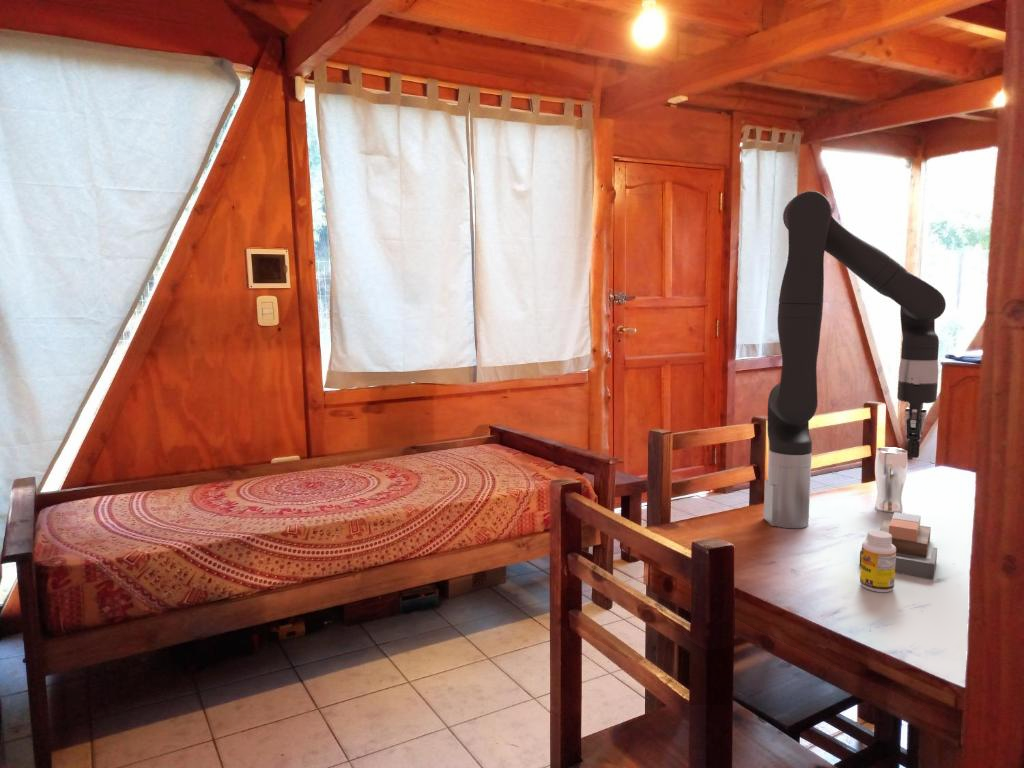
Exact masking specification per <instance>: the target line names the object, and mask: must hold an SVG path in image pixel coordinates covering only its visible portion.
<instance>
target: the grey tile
mask: <svg viewBox="0 0 1024 768" xmlns="http://www.w3.org/2000/svg"><path fill="white" fill-rule="evenodd" d="M892 514H893V515H892V517H891V520H892V519H896V520H903V521H909V522H916V523H919V528H920V526H921V515H918V514H910V513H903V512H900V513H898V512H894V513H892ZM919 528H918V532H919Z"/></svg>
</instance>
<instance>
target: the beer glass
mask: <svg viewBox="0 0 1024 768" xmlns="http://www.w3.org/2000/svg"><path fill="white" fill-rule="evenodd" d="M874 475H875V476H874V477H875V483H876V491H877V495H876V501H875V504H874V509H875V510H876V511H879V512H882V513H889V514H894V512H898V513H903V504H902V503H903V502H902V495H903V490H904V487H905V483H906V480H907V476H908V456H907V450H906V449H903V448H898V447H888V446H885V447H883V446H882V447H878V448H876V453H875V460H874Z"/></svg>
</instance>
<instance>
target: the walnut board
mask: <svg viewBox="0 0 1024 768" xmlns="http://www.w3.org/2000/svg"><path fill="white" fill-rule="evenodd" d="M882 521H883V522H882V523H881V526H880V529H879V531H884V532H887V533H889V525H890V522H891V520H885V519H883V520H882ZM930 542H931V526H927V525H920V528H919V532H918V537H917V541H909V540H903V539H897V538H892V544H893V545H894V546H895V547H896V553H901V554H907V555H913V556H919V557H925V558H928V557H927V556H928V551H929V547H930Z"/></svg>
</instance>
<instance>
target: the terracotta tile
mask: <svg viewBox="0 0 1024 768" xmlns="http://www.w3.org/2000/svg"><path fill="white" fill-rule="evenodd" d="M890 521H891V522H890V525H889V533H890V534H891V535H892V538H897V539H903V540H909V541H917V537H918V528H919V523H916V522H909V521H903V520H896V519H892V518H891V520H890Z"/></svg>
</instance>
